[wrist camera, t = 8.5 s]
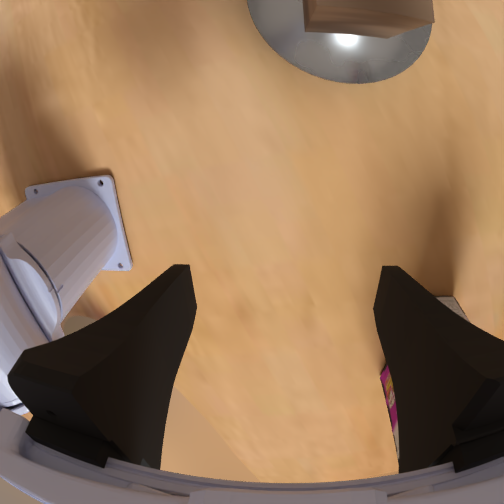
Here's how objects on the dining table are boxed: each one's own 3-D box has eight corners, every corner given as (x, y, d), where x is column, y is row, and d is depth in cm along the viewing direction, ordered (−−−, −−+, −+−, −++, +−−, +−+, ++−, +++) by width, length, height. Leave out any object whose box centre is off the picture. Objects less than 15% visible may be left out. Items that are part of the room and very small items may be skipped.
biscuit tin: (256, 83, 17) (252, 83, 15) (246, -55, 12) (241, -74, 10) (415, 91, 16) (435, 93, 14) (403, -44, 11) (420, -58, 9)
